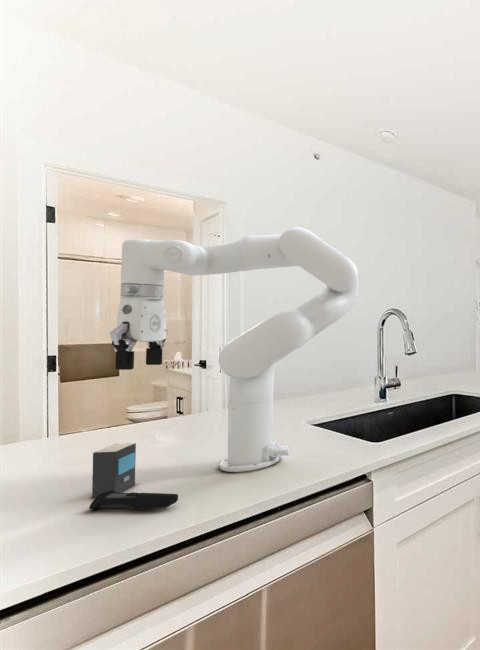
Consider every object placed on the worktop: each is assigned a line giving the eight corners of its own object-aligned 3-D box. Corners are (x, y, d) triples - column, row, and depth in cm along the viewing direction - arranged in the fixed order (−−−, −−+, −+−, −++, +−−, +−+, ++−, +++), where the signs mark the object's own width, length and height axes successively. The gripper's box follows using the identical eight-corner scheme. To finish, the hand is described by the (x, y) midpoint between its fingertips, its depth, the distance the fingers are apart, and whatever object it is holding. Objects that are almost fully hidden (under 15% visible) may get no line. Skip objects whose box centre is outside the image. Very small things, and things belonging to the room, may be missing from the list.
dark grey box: (136, 484, 92) (137, 442, 92) (116, 496, 86) (117, 451, 86) (113, 486, 91) (114, 444, 91) (91, 497, 85) (92, 452, 86)
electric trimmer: (166, 515, 78) (167, 497, 78) (86, 512, 79) (87, 494, 79) (183, 506, 82) (184, 489, 82) (106, 503, 83) (107, 486, 83)
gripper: (134, 291, 91) (131, 371, 90) (182, 295, 108) (180, 363, 107) (94, 290, 89) (91, 371, 89) (149, 294, 106) (146, 363, 106)
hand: (140, 366), depth 98 cm, fingers open, 9 cm apart
